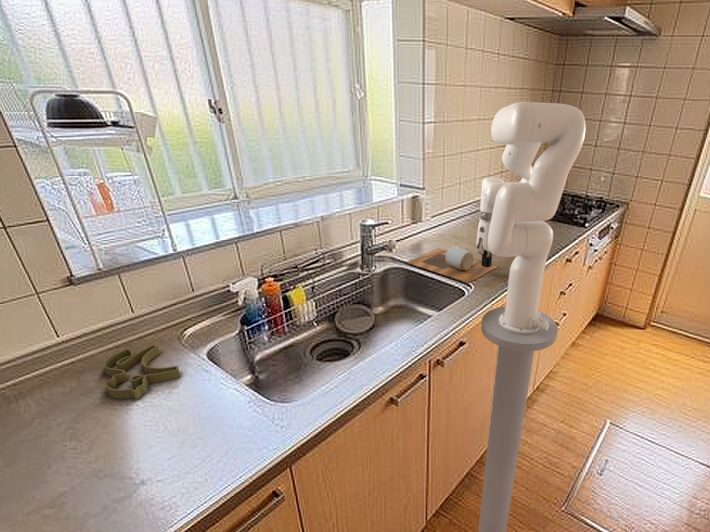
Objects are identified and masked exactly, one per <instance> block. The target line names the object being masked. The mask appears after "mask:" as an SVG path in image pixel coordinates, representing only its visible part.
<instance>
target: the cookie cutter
mask: <svg viewBox="0 0 710 532" xmlns="http://www.w3.org/2000/svg"><path fill="white" fill-rule="evenodd" d="M158 355H161V352H160V350H159V346H158V345H156V344H152V345H149V346H147V347H145V348H142V349H141V350H139V351H137V352H136V353H134V352H133V350H132V349H130V348H126V349H123V350H120V351H118V352H116V353H114V354H112V355H110V356H109V357H106V359H105V360H104V361H103V363H102V366H103V368H104V372H105V373H106V375H107V376H110V377H111V379H110V380H107V381H104V382H103V384H104V387H105V389H106V391H107V393H108V394H109V396H111V397H112V398H114V399H131V398H133V399H135V400H139V399H140V398H141V397H142V395H144V394H146V393H147V392H148V386H149V384H152V383H159V382H165V381H170V380H174V379H177V378H181V373H180V369H179V366H178V365H174V366H166V367H153V366H147V365H148V364H149V362H151V360H152V359H154V358H156V357H157V356H158ZM140 362H141V365H142V368H143V371H144V373H146V374H136V375H132V376H131V377H130V378H129V381H130V384H131V386H132V387H131V388H125V389H116V387H118V384H120V383H124V382H126V381H128V376H127V374H126V373H127V372H126V371H128V370H129V369H130V368H132V367H133V366H135V365H136V364H137V363H140ZM115 364H116V366H117V368H112V367H113V366H114V365H115Z"/></svg>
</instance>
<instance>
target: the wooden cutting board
mask: <svg viewBox="0 0 710 532" xmlns="http://www.w3.org/2000/svg"><path fill="white" fill-rule="evenodd" d="M447 251H448V250H447ZM447 251H446V250H444V249H440V248H438V249H436V250H433V251H430V252H429V253H426V254H423V255H421V256H418V257H416V258H413V259H411V260H409V261H406V264H409V265H412V266H415V267H418V268H421V269H424V270H428V271H430V272H434V273H437V274H439V275H443V276H446V277H449V278H452V279H455V280H458V281H461V282H464V283H467V284H470V283H472V282H473V281H475V280H477V279H479V278H480V277H482V276H484V275H486V274H487V273H489V272H491V271H493V270H494V269H496V268H498V265H495V264H493V263H491V266H490V267H489V268H487V267H484V266H482V265H481V262H482V260H477V259H474V258H473V261H474V265H472V266H471V267H470V268H469V269H468V270H465V271H464V270H460V269H457V268H455V267H452V266H450V265H448V264H447V263H446V253H447Z"/></svg>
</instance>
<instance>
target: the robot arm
mask: <svg viewBox="0 0 710 532" xmlns="http://www.w3.org/2000/svg"><path fill="white" fill-rule="evenodd" d="M584 115H585V114H584V113H583V112H582V110H580V108H578V107H576V106H574V105H571V104H566V103H559V102H558V103H557V102H539V101H538V102H537V101H517V102H513V103H511V104H508V105H506V106H504V107H502V108H500V109H499V110H498V111H497V112H496V114H495V115H494V117H493V119H492V123H491V128H490V129H491V130H490V133H491V138H492V140H493V141H494V143H495V144H497V145H506V146H505V147H504V150H503V152H502V156H501V160H502V161H501V162H502V164H503V166H504V167H505V168H506V169H507V170H508V171H509V172H511V173H513V174H515V175H516V176H519V177H521V179H520V181H505V180H504V179H503V178H501V177H495V176H488V177H487V176H486V177H485V178H483V179H482V181H481V190H480V191H481V192H480V205H479V217H478V219H479V220H478V221H479V222H478V227H477V233H476V245H475V246H476V249H478V251H477V254H479V255H480V256H481V261H482V262H481V265H482V266H484V267H487V268H489V267H490V266H491V264H492V261H493V256H494V257H497V258H513V257H515V258H514V259H513V261H512V262H511V265H510V267H509V272H508V281H507V289H506V290H507V291H506V298H505V306H506V307H505V306H504V307H505V313H503V314H502V315H500V317H499V324H500V326H501V327H502V328H503V329H505V330H507V331H509V332H512V333H516V334H531V333H535V332H537V331H538V330H539V329H540V328H541V329H544V330H548V328H549V324H548V320H546V319H542V318H541V317H540V314H541V312H542V311H540V312H538V311H539V306H540V299H541V292H542V286H543V280H544V274H545V270H546V264H547V260H548V256H549V253H550V251H551V248H552V245H553V242H554V231H553V228H552V227H551V225H550V224H549V223H547V222H546V221H549V220H551V219H552V218H553V217H554V216H555V214H556V212H557V210H558V207H559V205H560V202H561V198H562V195H563V192H564V189H565V187H566V183H567V179H568V176H569V173H570V171H571V169H572V167H573V165H574V163H575V161H576V160H577V158H578V156H579V154H580V152H581V150H582V147H583V144H584V141H585V135H586V131H587V130H586V129H587V127H586V118H585V116H584ZM542 143H543V144H544V143H550V146H548V148H546V149H545V150H544V151H543V152H542V153H541V154H540V155H539V157H537V159H536V160H535V158H536V156H537V153H538V152H539V149H540V148H541V145H542ZM534 160H535V162H534ZM533 162H534V164H533ZM532 164H533V165H532Z"/></svg>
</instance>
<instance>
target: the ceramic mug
mask: <svg viewBox="0 0 710 532" xmlns="http://www.w3.org/2000/svg"><path fill="white" fill-rule="evenodd" d="M473 259H474V255H473V254H472V252H470V251H469V250H467V249H464V248H462V247H460V246H458V245H452V246H450V247H449V248H448V250H447V253H446V263H447V264H448V265H450V266H452V267H455V268H457V269H460V270H464V271H465V270H468V269H469V268H470V267H471V266H472V265H474V261H473Z"/></svg>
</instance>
